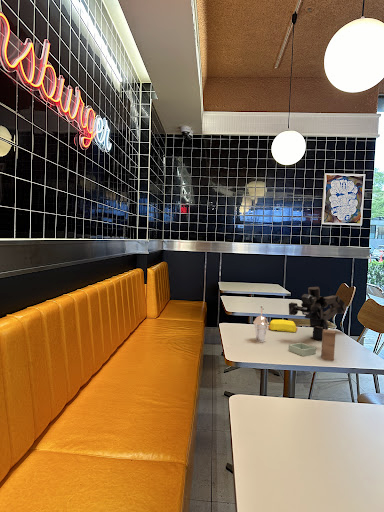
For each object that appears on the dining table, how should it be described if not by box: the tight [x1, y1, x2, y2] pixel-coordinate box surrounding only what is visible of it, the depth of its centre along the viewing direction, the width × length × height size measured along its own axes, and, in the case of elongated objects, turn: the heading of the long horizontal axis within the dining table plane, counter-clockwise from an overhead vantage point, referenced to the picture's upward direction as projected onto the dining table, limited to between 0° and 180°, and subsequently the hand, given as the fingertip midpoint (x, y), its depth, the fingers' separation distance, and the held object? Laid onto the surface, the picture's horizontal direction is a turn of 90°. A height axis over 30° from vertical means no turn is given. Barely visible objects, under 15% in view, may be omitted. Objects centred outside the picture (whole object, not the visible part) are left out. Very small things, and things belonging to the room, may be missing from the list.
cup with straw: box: [252, 306, 270, 343], centre depth 186 cm, size 8×9×20 cm
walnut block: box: [320, 329, 336, 361], centre depth 164 cm, size 5×5×13 cm
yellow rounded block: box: [267, 319, 298, 333], centre depth 213 cm, size 18×7×8 cm
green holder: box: [288, 342, 317, 357], centre depth 171 cm, size 9×9×3 cm
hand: (297, 315), depth 179 cm, fingers open, 9 cm apart
